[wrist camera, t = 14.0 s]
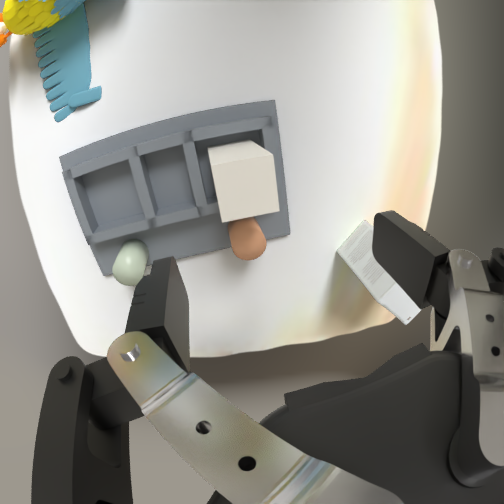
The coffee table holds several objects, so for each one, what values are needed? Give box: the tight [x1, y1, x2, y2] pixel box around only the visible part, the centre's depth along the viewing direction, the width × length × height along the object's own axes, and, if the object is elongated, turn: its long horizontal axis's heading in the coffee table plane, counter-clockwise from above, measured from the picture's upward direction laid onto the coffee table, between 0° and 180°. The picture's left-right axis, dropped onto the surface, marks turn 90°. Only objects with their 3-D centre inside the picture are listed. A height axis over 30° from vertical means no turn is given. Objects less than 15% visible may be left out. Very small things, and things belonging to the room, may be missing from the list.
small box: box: [337, 220, 421, 325], centre depth 30 cm, size 8×6×10 cm
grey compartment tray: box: [59, 100, 290, 286], centre depth 24 cm, size 14×22×5 cm, turn 99°
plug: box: [207, 139, 280, 223], centre depth 22 cm, size 4×4×9 cm
